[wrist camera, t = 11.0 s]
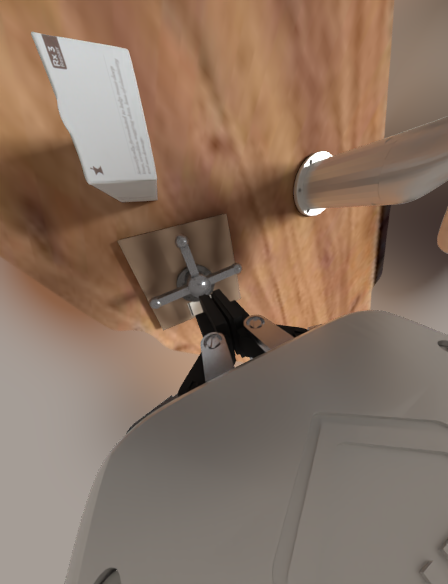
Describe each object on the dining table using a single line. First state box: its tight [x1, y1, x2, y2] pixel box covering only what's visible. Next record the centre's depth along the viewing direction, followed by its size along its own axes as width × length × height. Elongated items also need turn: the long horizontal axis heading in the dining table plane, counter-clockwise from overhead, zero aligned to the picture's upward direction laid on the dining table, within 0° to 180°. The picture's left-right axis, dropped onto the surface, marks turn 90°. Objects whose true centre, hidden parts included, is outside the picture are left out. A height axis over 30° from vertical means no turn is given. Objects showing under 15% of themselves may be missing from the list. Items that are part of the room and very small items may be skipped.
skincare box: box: [31, 32, 158, 202], centre depth 18 cm, size 8×6×15 cm
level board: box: [117, 214, 241, 330], centre depth 34 cm, size 20×20×2 cm
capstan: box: [149, 234, 242, 309], centre depth 31 cm, size 18×18×6 cm
